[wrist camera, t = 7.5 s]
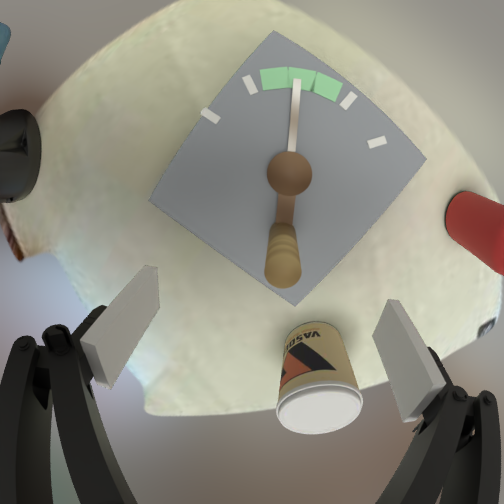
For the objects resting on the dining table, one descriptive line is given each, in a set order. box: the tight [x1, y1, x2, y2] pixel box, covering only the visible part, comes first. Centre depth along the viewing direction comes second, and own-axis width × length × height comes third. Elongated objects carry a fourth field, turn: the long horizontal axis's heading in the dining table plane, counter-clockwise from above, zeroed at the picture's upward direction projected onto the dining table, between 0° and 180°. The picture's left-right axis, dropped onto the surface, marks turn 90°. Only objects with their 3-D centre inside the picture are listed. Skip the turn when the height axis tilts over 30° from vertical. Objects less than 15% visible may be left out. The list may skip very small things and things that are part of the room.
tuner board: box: [148, 30, 426, 306], centre depth 26 cm, size 20×22×2 cm
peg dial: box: [264, 78, 312, 289], centre depth 20 cm, size 16×4×9 cm, turn 176°
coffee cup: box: [276, 322, 363, 434], centre depth 29 cm, size 9×9×12 cm
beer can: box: [446, 191, 504, 276], centre depth 20 cm, size 7×7×12 cm
